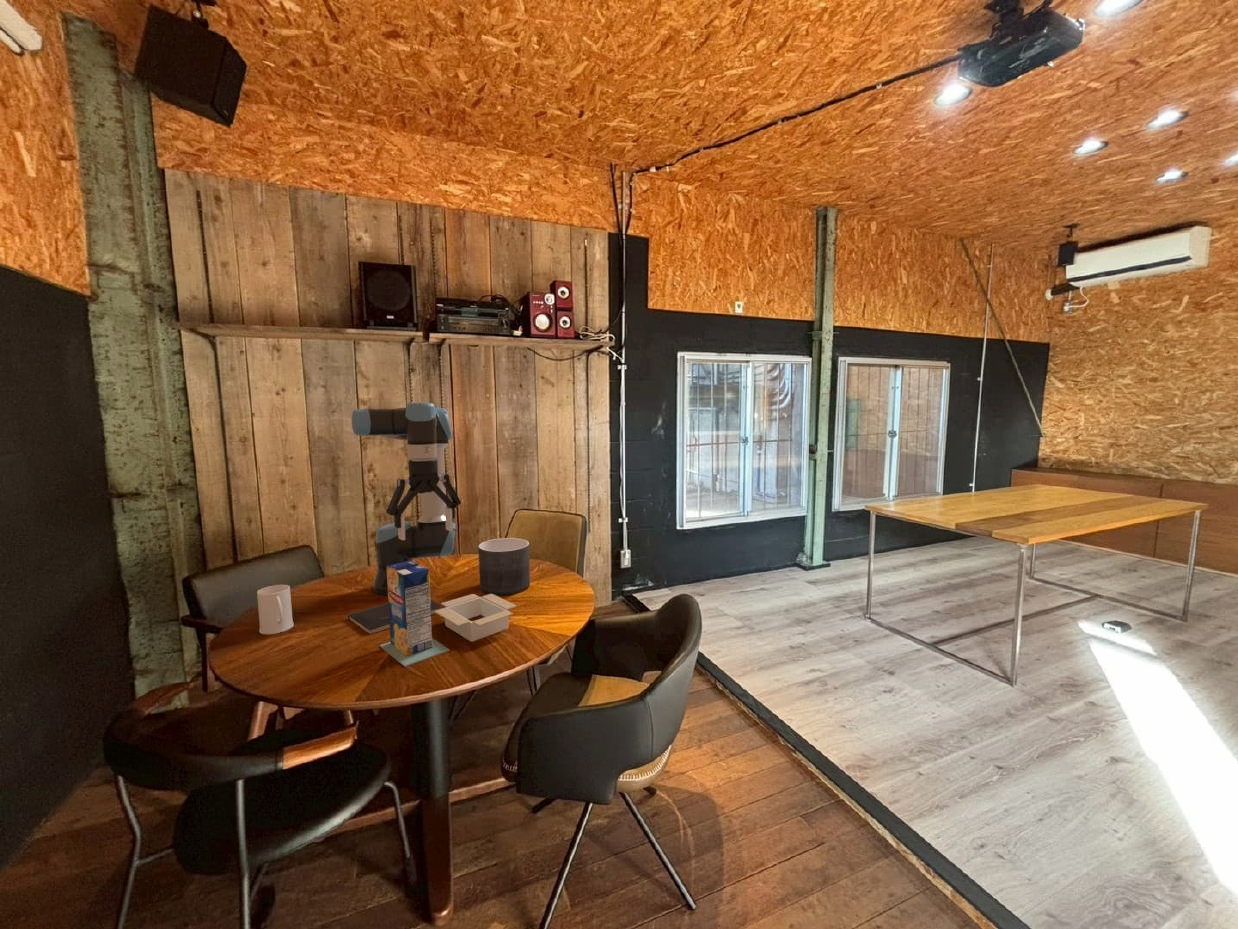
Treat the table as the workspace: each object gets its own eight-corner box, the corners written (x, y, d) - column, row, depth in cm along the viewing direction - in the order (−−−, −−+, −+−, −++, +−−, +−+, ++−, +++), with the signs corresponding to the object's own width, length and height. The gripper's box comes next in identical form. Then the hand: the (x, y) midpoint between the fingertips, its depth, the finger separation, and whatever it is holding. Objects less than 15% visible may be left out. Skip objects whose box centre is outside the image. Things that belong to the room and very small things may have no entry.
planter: (540, 584, 190) (539, 542, 188) (505, 599, 175) (504, 554, 173) (505, 575, 199) (504, 535, 197) (469, 589, 184) (467, 546, 182)
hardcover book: (443, 612, 165) (443, 606, 165) (369, 637, 148) (369, 629, 148) (419, 600, 176) (419, 593, 175) (348, 621, 159) (347, 614, 158)
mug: (297, 633, 149) (294, 593, 148) (261, 641, 144) (258, 600, 142) (291, 619, 158) (288, 582, 157) (258, 627, 153) (254, 588, 151)
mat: (379, 646, 141) (379, 645, 141) (422, 632, 150) (422, 631, 149) (404, 667, 130) (404, 665, 130) (449, 650, 138) (449, 649, 138)
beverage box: (407, 656, 134) (403, 575, 132) (390, 643, 142) (386, 565, 139) (432, 647, 139) (429, 569, 137) (414, 635, 147) (411, 560, 144)
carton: (428, 625, 154) (427, 607, 153) (485, 607, 168) (484, 590, 167) (466, 650, 139) (465, 629, 138) (525, 628, 152) (525, 609, 152)
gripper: (381, 464, 130) (385, 546, 133) (471, 456, 147) (473, 528, 150) (370, 461, 135) (375, 540, 138) (458, 454, 152) (461, 524, 155)
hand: (426, 534), depth 144 cm, fingers open, 13 cm apart
